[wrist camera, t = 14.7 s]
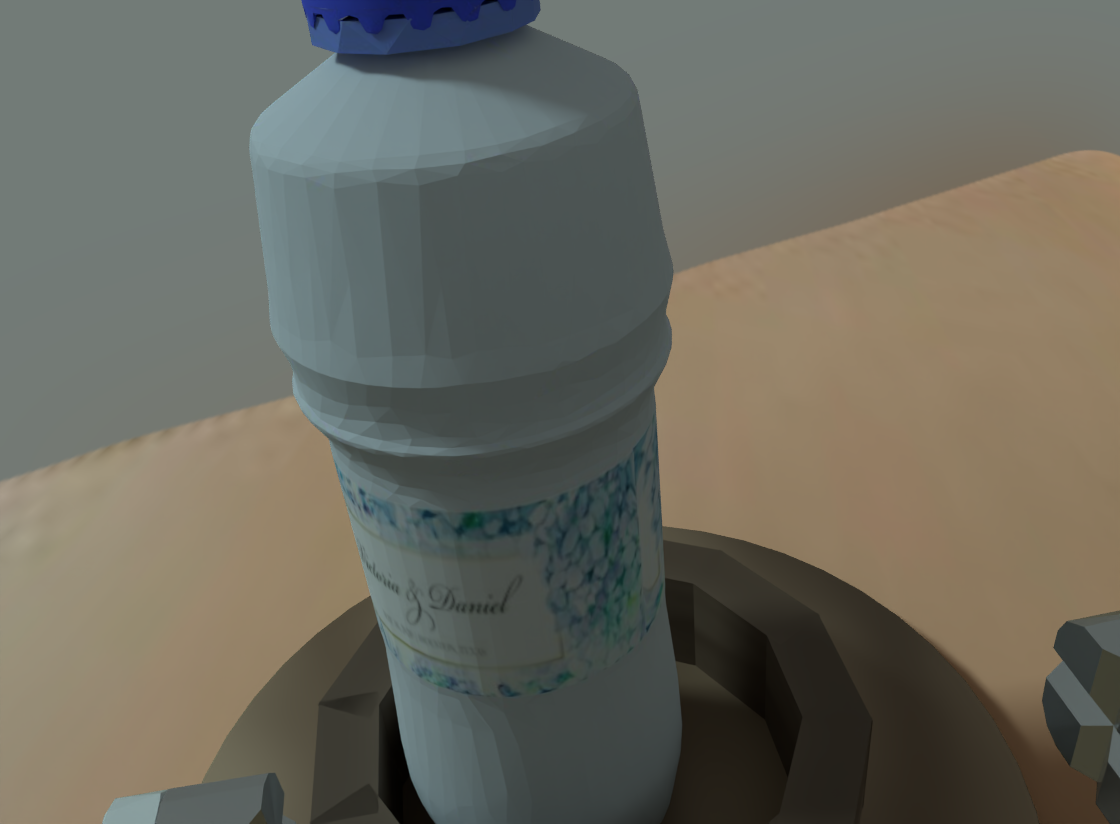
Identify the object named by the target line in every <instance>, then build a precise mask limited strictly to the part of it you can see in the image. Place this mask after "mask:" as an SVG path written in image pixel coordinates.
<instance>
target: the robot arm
mask: <svg viewBox="0 0 1120 824" xmlns="http://www.w3.org/2000/svg"><path fill="white" fill-rule="evenodd" d="M1053 648H1054V649H1055V651H1056V652H1057V653H1058V654H1059V656H1060V657H1061V658H1062V660H1063V661H1062V662H1061V663H1060V664H1059V665H1058V666H1057V667H1056V668H1055V669H1054V670H1053V671H1052V672H1051V673H1050V674H1049V675H1048V676H1047V677H1046V682H1045V687H1044V693H1043V699H1042V702H1043V707H1044V712H1045V718H1046V723H1047V727H1048V729H1049V731H1050V733H1051V735H1052V738H1053V740H1054V742H1055V744H1056V746H1057V748H1058V749H1059V751H1060V752H1061V754H1062V755H1063V757H1064V758H1065V760H1066V761H1067V763H1068V764H1069V766H1070V767H1072V768H1074V769H1075V770H1077V771H1079V772H1081V773H1082V774H1084V775H1086V776H1088V777H1089V778H1091V779H1093V780H1094V781H1096V782H1097V793H1096V805H1097V806H1098V807H1099V809H1100V810H1101V812H1102V813H1103V815H1104V816H1105V817H1106V819H1107V820H1108V822H1109V823H1110V824H1120V611H1115V612H1110V613H1105V614H1100V615H1095V616H1090V617H1085V618H1080V619H1075V620H1070V621H1067V622H1066V623H1065V624H1064V625H1063V626H1062V627H1061V628H1060V629H1059V630H1058V632H1057V636H1056V640H1055V644H1054V647H1053ZM284 794H285V793H284V791H283V789H282V787H281V785H280V782H279V780H278V778H277V776H276V773H265V774H259V775H253V776H247V777H241V778H234V779H228V780H222V781H216V782H210V783H203V784H197V785H191V786H185V787H179V788H172V789H168V790H162V791H156V792H150V793H145V794H139V795H133V796H128V797H122V798H116V799H115V800H114V801H113V803H112V805H111V806H110V808H109V809H108V811H107V813H106V814H105V816H104V819H103V823H102V824H296V822H295V821H293V820H292V819H290V818H288V817H286V816H284V815H283V806H284Z"/></svg>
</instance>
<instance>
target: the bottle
mask: <svg viewBox="0 0 1120 824" xmlns="http://www.w3.org/2000/svg"><path fill="white" fill-rule="evenodd" d="M302 4H303V8H304V11H305V15H306V18H307V21H308V26H309V31H310V36H311V42H312V45H314V46H317V47H320V48H323V49H326V50H330V51H333V52H335V53H334V54H333V55H332V56H331V57H330V58H328V59H327V60H326V61H325V62H323V63H322V64H321V65H320V66H318V67H317V68H316V69H315V70H314V71H312V72H311V73H310V74H308V75H307V76H306V77H305V78H303V79H302V80H301V81H300V82H298V83H297V84H296V85H295V86H293V87H292V88H291V89H290V90H289V91H287V92H286V93H285V94H284V95H282V96H281V97H280V98H279V99H277V100H276V101H275V102H274V103H273V104H272V105H270V107H268V108H267V109H266V110H265V111H263V112H262V113H261V115H260V116H259V118H258V119H257V121H256V122H255V124H254V126H253V127H252V129H251V134H250V147H249V152H250V158H251V165H252V172H253V180H254V187H255V195H256V203H257V210H258V218H259V225H260V233H261V240H262V248H263V255H264V263H265V271H266V278H267V286H268V293H269V311H270V312H269V314H270V325H271V330H272V334H273V336H274V338H275V340H276V342H277V343H278V345H279V347H280V349H281V350H282V352H283V353H284V355H285V356H286V358H287V360H288V361H289V362H290V364H291V367H292V370H293V378H292V384H293V392H294V396H295V398H296V400H297V402H298V404H299V406H300V408H301V410H302V412H303V413H304V414H305V416H306V417H307V418H308V419H309V421H310V422H311V423H312V424H313V425H314V426H315V427H316V428H318V429H319V430H320V431H321V432H322V433H323V434H324V435H325V436H326V437H327V438H328V439H329V441H330V447H331V451H332V455H333V458H334V462H335V466H336V469H337V473H338V477H339V480H340V484H341V488H342V491H343V495H344V499H345V503H346V506H347V510H348V514H349V517H350V521H351V525H352V528H353V532H354V536H355V539H356V543H357V547H358V550H359V554H360V558H361V561H362V565H363V569H364V573H365V576H366V580H367V584H368V587H369V591H370V595H371V598H372V602H373V606H374V609H375V613H376V617H377V620H378V624H379V627H380V630H381V633H382V636H383V639H384V643H385V646H386V652H387V658H388V663H389V669H390V675H391V681H392V687H393V693H394V699H395V705H396V711H397V717H398V723H399V729H400V735H401V741H402V745H403V749H404V753H405V757H406V761H407V765H408V769H409V773H410V777H411V780H412V782H413V785H414V787H415V789H416V792H417V794H418V796H419V798H420V800H421V802H422V804H423V806H424V807H425V809H426V811H427V813H428V814H429V816H430V817H431V819H432V820H433V821H434V823H435V824H660V823H661V822H662V820H663V819H664V816H665V814H666V811H667V809H668V807H669V804H670V800H671V795H672V791H673V786H674V782H675V777H676V772H677V767H678V763H679V758H680V753H681V737H682V717H681V706H680V695H679V684H678V675H677V668H676V662H675V656H674V650H673V644H672V638H671V631H670V625H669V619H668V613H667V607H666V598H665V571H664V552H663V534H662V515H661V496H660V478H659V459H658V440H657V422H656V403H655V394H654V386H655V384H656V382H657V380H658V378H659V377H660V375H661V373H662V371H663V369H664V367H665V365H666V363H667V360H668V357H669V353H670V350H671V345H672V329H671V326H670V322H669V319H668V317H667V315H666V308H667V303H668V299H669V294H670V289H671V285H672V280H673V264H672V260H671V256H670V252H669V249H668V246H667V241H666V238H665V234H664V230H663V226H662V220H661V215H660V209H659V204H658V198H657V193H656V187H655V182H654V176H653V171H652V166H651V160H650V155H649V149H648V144H647V138H646V133H645V127H644V122H643V117H642V111H641V106H640V101H639V95H638V91H637V88H636V86H635V84H634V83H633V81H632V79H631V77H630V75H629V74H628V73H627V72H625V71H624V70H623V69H622V68H621V67H619V66H618V65H617V64H616V63H614V62H612V61H609V60H607V59H605V58H603V57H601V56H599V55H596V54H594V53H592V52H589V51H587V50H584V49H582V48H580V47H577V46H575V45H573V44H570V43H568V42H566V41H563V40H561V39H558V38H556V37H553V36H551V35H549V34H547V33H544V32H542V31H540V30H537V29H535V28H532V27H530V26H528V25H526V24H528V23H530V22H532V21H534V20H535V19H536V17H537V15H538V14H539V12H540V1H539V0H302Z"/></svg>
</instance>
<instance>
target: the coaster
mask: <svg viewBox="0 0 1120 824" xmlns="http://www.w3.org/2000/svg"><path fill="white" fill-rule="evenodd" d="M662 534H663V552H664V571H665V598H666V607H667V613H668V619H669V625H670V631H671V638H672V644H673V650H674V656H675V662H676V668H677V675H678V684H679V695H680V706H681V717H682V737H681V753H680V758H679V763H678V767H677V772H676V777H675V782H674V786H673V791H672V795H671V800H670V804H669V807H668V809H667V811H666V814H665V816H664V819H663V820H662V822H661V823H660V824H1039V820H1038V816H1037V812H1036V810H1035V807H1034V805H1033V802H1032V799H1031V797H1030V794H1029V792H1028V789H1027V786H1026V784H1025V781H1024V779H1023V776H1022V773H1021V771H1020V768H1019V766H1018V763H1017V762H1016V760H1015V758H1014V756H1013V754H1012V752H1011V751H1010V749H1009V747H1008V745H1007V743H1006V742H1005V740H1004V738H1003V736H1002V734H1001V733H1000V731H999V729H998V727H997V725H996V723H995V722H994V720H993V718H992V717H991V716H990V714H989V713H988V712H987V710H986V709H985V707H984V706H983V705H982V703H981V702H980V701H979V699H978V698H977V696H976V695H975V694H974V692H973V691H972V690H971V688H970V687H969V685H968V684H967V683H966V681H965V680H964V679H963V678H962V677H961V676H960V675H959V674H958V673H957V671H956V670H955V669H954V668H953V667H952V666H951V665H950V664H949V663H948V662H947V661H946V660H945V659H944V657H943V656H942V655H941V654H940V653H939V652H938V651H937V650H936V649H935V648H934V647H933V646H932V645H931V644H930V643H929V642H928V641H926V640H925V639H924V638H923V637H922V636H921V635H919V634H918V633H917V632H916V631H915V630H914V629H912V628H911V627H910V626H909V625H908V624H907V623H905V622H904V621H903V620H902V619H901V618H900V617H898V616H897V615H896V614H894V613H893V612H891V611H890V610H888V609H887V608H885V607H884V606H882V605H881V604H880V603H878V602H877V601H875V600H874V599H872V598H871V597H869V596H868V595H866V594H865V593H864V592H862V591H860V590H859V589H857V588H855V587H853V586H851V585H849V584H848V583H846V582H844V581H842V580H840V579H838V578H837V577H835V576H833V575H831V574H829V573H827V572H826V571H824V570H822V569H819V568H817V567H815V566H812V565H810V564H808V563H805V562H803V561H801V560H798V559H796V558H793V557H791V556H789V555H786V554H784V553H781V552H778V551H775V550H772V549H768V548H765V547H762V546H759V545H756V544H753V543H750V542H747V541H743V540H739V539H734V538H730V537H725V536H721V535H716V534H712V533H707V532H702V531H695V530H687V529H679V528H672V527H664V526H662ZM265 773H276V776H277V778H278V780H279V782H280V785H281V787H282V789H283V791H284V793H285V794H284V806H283V815H284V816H286V817H288V818H290V819H292V820H293V821H295V822H296V824H435V823H434V821H433V820H432V819H431V817H430V816H429V814H428V813H427V811H426V809H425V807H424V806H423V804H422V802H421V800H420V798H419V796H418V794H417V792H416V789H415V787H414V785H413V782H412V780H411V777H410V773H409V769H408V765H407V761H406V757H405V753H404V749H403V745H402V741H401V735H400V729H399V723H398V717H397V711H396V705H395V699H394V693H393V687H392V681H391V675H390V669H389V663H388V658H387V652H386V646H385V643H384V639H383V636H382V633H381V630H380V627H379V624H378V620H377V617H376V613H375V609H374V606H373V602H372V598H371V596H369V597H368V598H366V599H364V600H363V601H361V602H360V603H358V604H356V605H355V606H353V607H352V608H350V609H349V610H347V611H346V612H345V613H343V614H342V615H341V616H340V617H338V618H337V619H336V620H334V621H333V622H332V623H330V624H329V625H328V626H326V627H325V628H324V629H322V630H321V631H320V632H319V633H317V634H316V635H315V636H314V637H313V638H312V639H310V640H309V641H308V642H307V643H306V644H305V645H304V646H303V647H302V648H301V649H300V650H299V651H298V652H296V653H295V654H294V655H293V656H292V657H291V658H290V659H289V660H288V661H287V662H286V663H285V664H284V665H283V666H282V667H281V668H280V669H279V670H278V671H277V672H276V674H275V675H274V676H273V677H272V678H271V679H270V680H269V682H268V683H267V684H266V685H265V686H264V687H263V688H262V690H261V691H260V692H259V693H258V694H257V695H256V696H255V697H254V699H253V700H252V701H251V703H250V704H249V706H248V707H247V709H246V710H245V711H244V713H243V714H242V716H241V717H240V718H239V720H238V721H237V723H236V724H235V726H234V727H233V728H232V730H231V731H230V733H229V734H228V735H227V737H226V739H225V741H224V742H223V744H222V746H221V748H220V750H219V752H218V753H217V755H216V757H215V759H214V761H213V762H212V764H211V766H210V768H209V770H208V772H207V773H206V775H205V777H204V779H203V781H202V784H203V783H210V782H216V781H222V780H228V779H234V778H241V777H247V776H253V775H259V774H265Z"/></svg>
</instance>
